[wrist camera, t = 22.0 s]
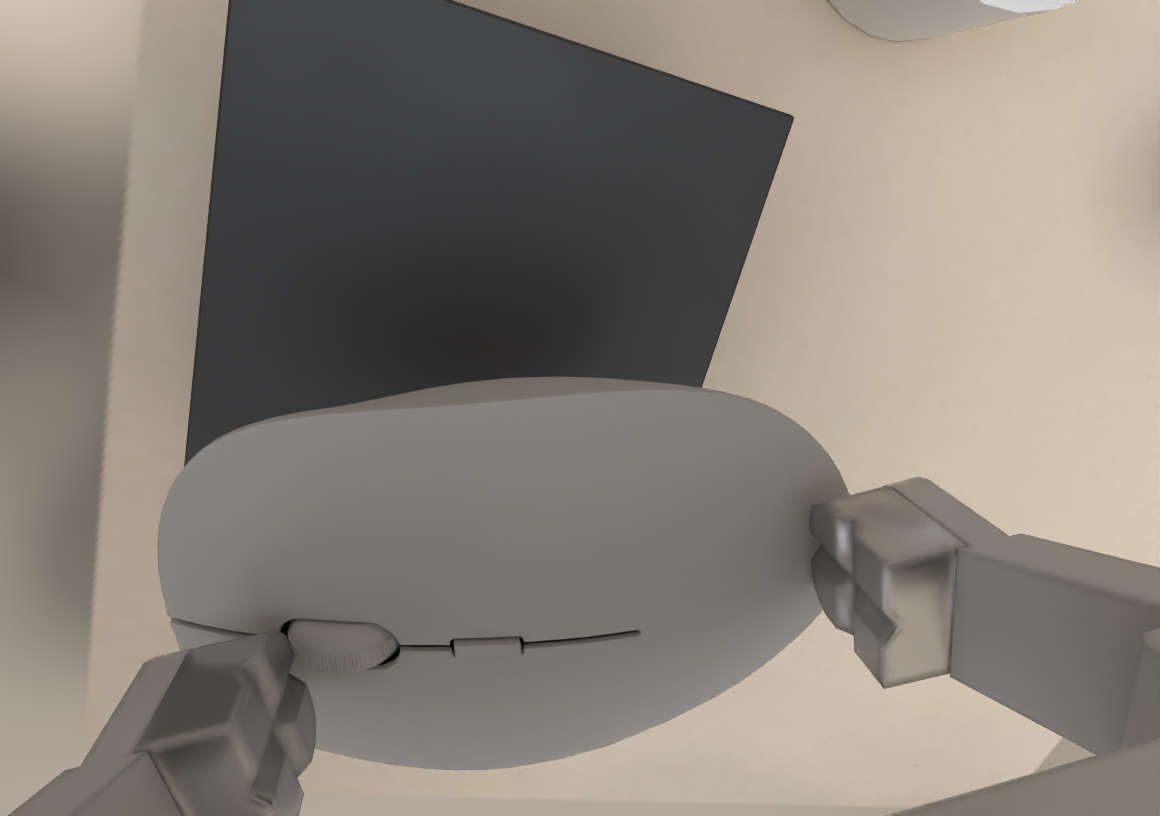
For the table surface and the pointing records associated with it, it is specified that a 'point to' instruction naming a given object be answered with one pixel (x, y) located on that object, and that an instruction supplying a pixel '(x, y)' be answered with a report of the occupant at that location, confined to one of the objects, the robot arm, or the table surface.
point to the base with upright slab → (934, 15)
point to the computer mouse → (503, 560)
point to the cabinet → (459, 210)
